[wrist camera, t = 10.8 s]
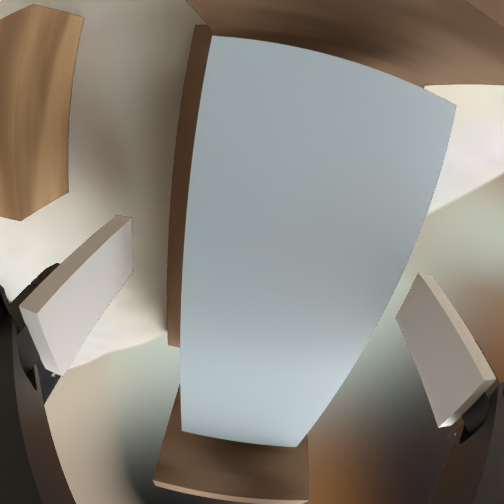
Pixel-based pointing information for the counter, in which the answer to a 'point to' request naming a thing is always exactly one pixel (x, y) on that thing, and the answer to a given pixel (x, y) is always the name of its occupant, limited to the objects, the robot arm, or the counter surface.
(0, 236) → the counter surface
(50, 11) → the riser block
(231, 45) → the shelf board
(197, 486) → the peg frame
